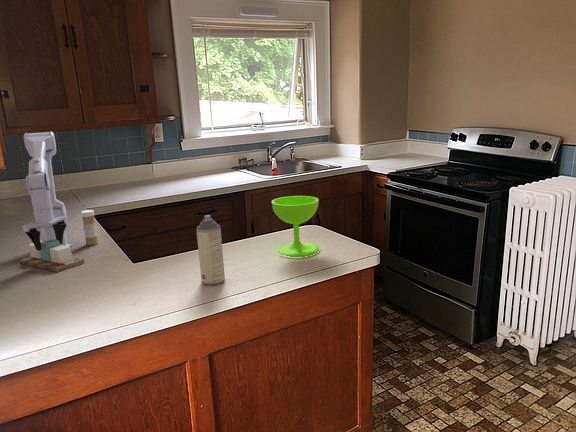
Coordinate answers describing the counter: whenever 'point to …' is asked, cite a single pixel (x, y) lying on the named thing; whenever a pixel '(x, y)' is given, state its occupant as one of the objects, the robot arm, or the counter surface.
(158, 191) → the counter surface
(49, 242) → the block
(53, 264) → the rail board
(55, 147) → the robot arm
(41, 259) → the rail
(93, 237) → the sprinkles bottle
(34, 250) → the mounted modules
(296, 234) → the wineglass
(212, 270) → the aerosol can
